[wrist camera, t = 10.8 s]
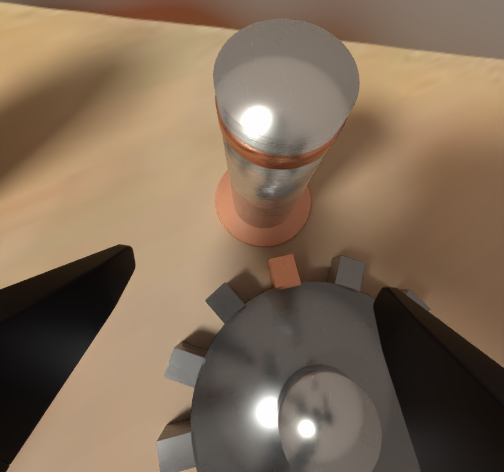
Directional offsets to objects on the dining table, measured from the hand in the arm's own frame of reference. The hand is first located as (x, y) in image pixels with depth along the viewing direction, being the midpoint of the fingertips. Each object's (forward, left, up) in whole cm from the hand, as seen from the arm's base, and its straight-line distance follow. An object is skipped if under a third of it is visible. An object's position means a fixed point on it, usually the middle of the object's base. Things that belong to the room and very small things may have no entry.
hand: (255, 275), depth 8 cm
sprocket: (-7, -4, -8) cm, 11 cm away
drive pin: (+6, -1, -7) cm, 9 cm away
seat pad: (+6, -1, -8) cm, 10 cm away
